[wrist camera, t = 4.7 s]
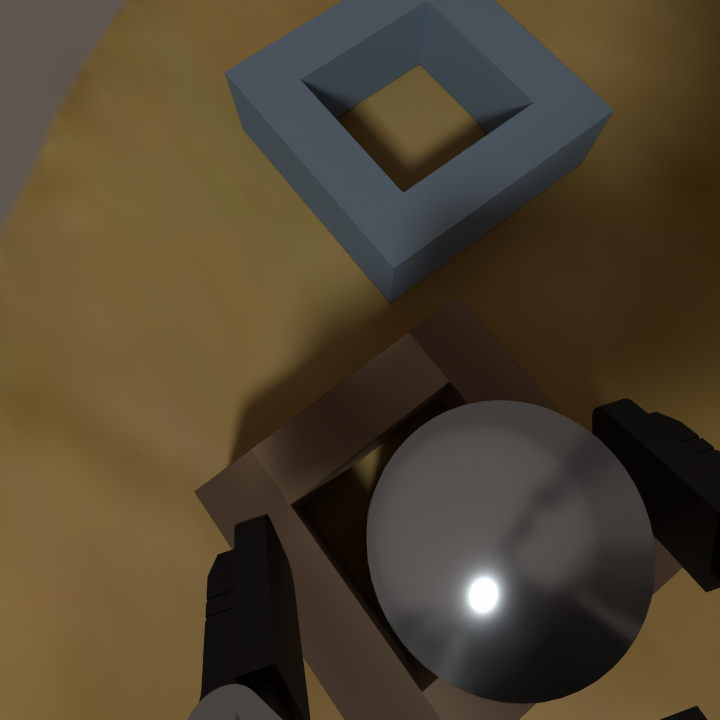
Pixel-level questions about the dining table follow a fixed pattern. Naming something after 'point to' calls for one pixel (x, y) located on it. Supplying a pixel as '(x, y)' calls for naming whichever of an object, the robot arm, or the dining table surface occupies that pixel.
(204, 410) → the dining table surface
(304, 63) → the slate socket
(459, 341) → the walnut mount
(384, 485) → the steel pin
